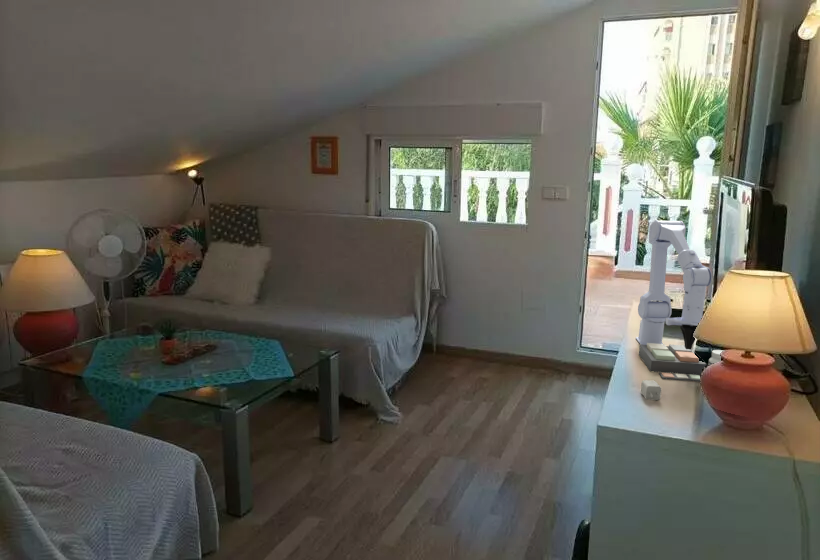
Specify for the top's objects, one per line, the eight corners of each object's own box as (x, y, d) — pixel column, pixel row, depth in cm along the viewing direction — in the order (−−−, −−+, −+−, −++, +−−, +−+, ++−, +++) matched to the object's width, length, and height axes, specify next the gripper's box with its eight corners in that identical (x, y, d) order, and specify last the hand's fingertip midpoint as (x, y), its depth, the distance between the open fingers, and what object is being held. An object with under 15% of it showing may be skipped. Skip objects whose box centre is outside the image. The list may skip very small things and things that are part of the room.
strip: (662, 379, 183) (662, 376, 183) (658, 374, 187) (659, 371, 187) (704, 382, 182) (705, 379, 182) (700, 377, 186) (700, 374, 186)
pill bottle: (722, 381, 183) (727, 349, 181) (730, 388, 178) (735, 356, 175) (702, 380, 184) (707, 348, 182) (709, 387, 178) (714, 354, 176)
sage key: (651, 358, 196) (652, 349, 195) (669, 359, 195) (670, 350, 195) (655, 364, 191) (656, 355, 190) (673, 365, 190) (675, 356, 189)
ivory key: (646, 351, 203) (647, 342, 202) (663, 352, 202) (664, 344, 201) (650, 357, 197) (651, 348, 197) (667, 358, 197) (668, 349, 196)
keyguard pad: (638, 354, 205) (639, 344, 204) (688, 358, 203) (690, 347, 202) (650, 371, 190) (651, 360, 189) (704, 375, 188) (706, 364, 187)
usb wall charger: (654, 394, 172) (656, 380, 171) (663, 404, 165) (664, 390, 165) (640, 393, 172) (641, 379, 172) (648, 403, 166) (649, 389, 165)
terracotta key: (674, 360, 195) (675, 351, 194) (692, 361, 194) (693, 352, 194) (679, 366, 190) (680, 356, 189) (697, 367, 189) (698, 358, 189)
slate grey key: (668, 353, 202) (669, 344, 201) (685, 354, 201) (686, 345, 201) (672, 358, 197) (673, 349, 196) (690, 359, 196) (691, 350, 195)
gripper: (672, 307, 185) (667, 350, 188) (723, 310, 183) (716, 354, 186) (665, 302, 192) (660, 343, 195) (714, 305, 190) (708, 346, 193)
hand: (687, 348), depth 191 cm, fingers closed
